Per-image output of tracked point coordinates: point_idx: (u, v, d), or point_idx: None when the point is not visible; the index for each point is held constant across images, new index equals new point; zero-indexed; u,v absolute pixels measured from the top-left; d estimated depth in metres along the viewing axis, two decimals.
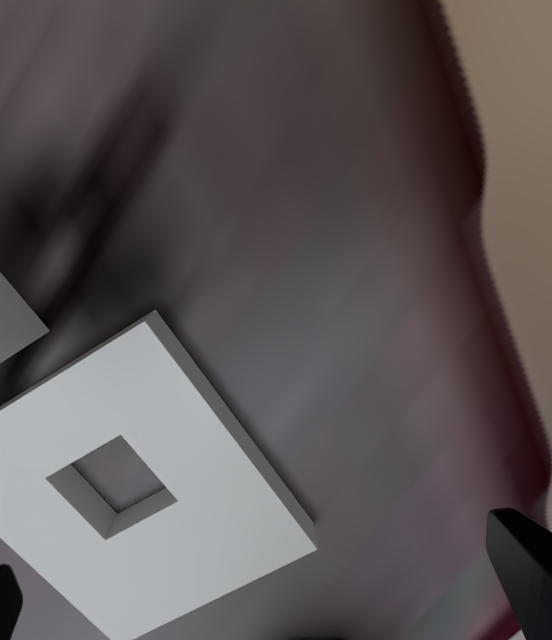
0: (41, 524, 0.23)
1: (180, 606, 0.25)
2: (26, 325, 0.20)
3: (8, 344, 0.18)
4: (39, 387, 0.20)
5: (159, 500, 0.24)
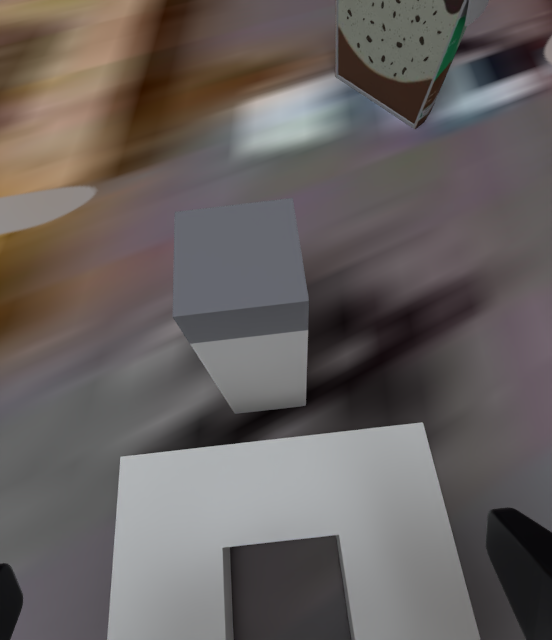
0: (170, 617, 0.17)
1: None
2: None
3: None
4: (289, 438, 0.20)
5: None
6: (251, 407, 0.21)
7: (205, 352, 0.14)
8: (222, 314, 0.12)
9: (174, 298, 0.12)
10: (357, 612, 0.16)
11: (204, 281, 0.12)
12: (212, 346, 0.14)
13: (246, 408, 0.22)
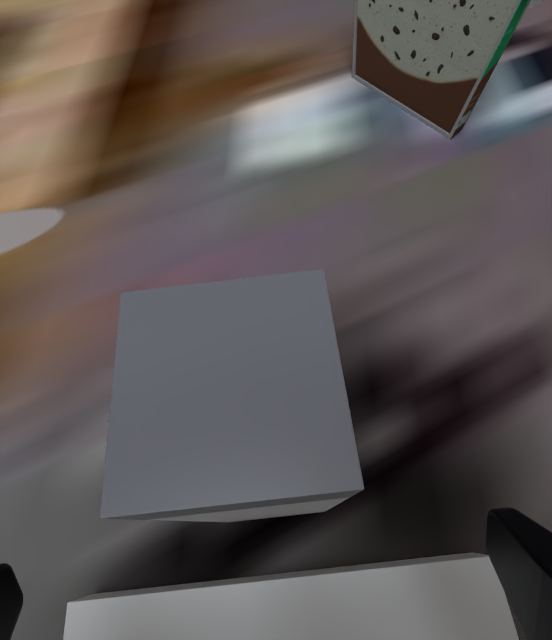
0: None
1: None
2: None
3: None
4: (304, 578, 0.14)
5: None
6: (251, 519, 0.16)
7: (174, 518, 0.09)
8: (198, 508, 0.06)
9: (106, 474, 0.06)
10: None
11: (165, 436, 0.06)
12: (187, 516, 0.08)
13: None
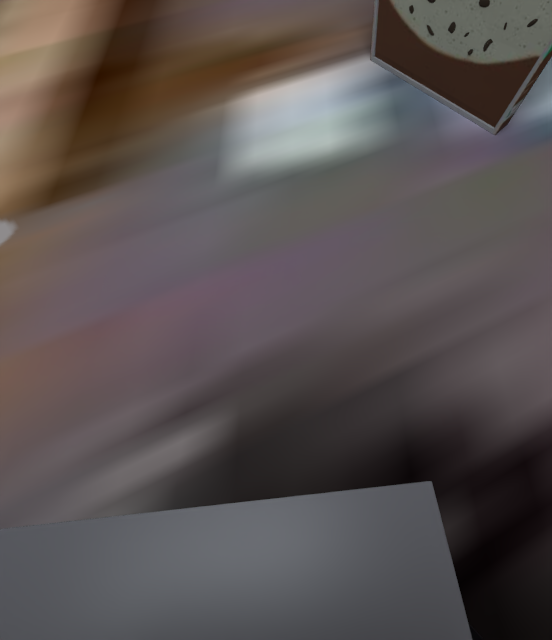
0: None
1: None
2: None
3: None
4: None
5: None
6: None
7: None
8: None
9: None
10: None
11: None
12: None
13: None
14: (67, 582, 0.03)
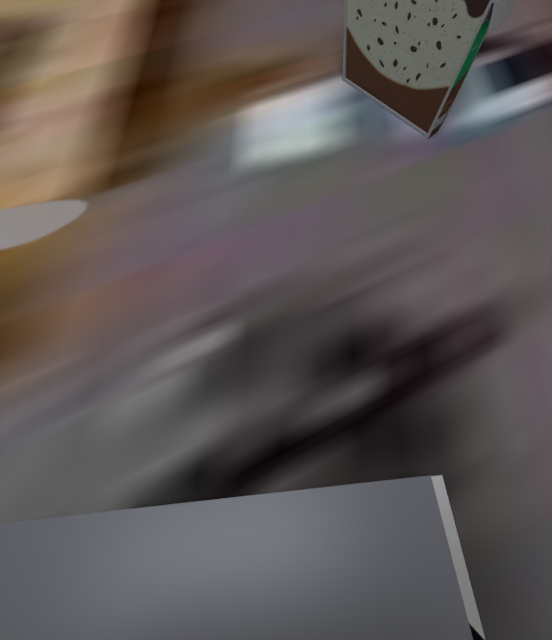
0: None
1: None
2: None
3: None
4: None
5: None
6: None
7: None
8: None
9: None
10: None
11: None
12: None
13: None
14: (67, 576, 0.03)
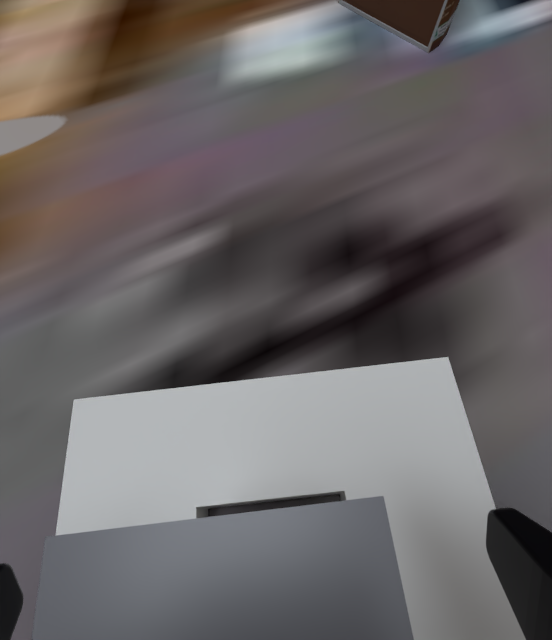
0: None
1: None
2: None
3: None
4: (282, 376, 0.16)
5: None
6: None
7: None
8: None
9: None
10: None
11: None
12: None
13: None
14: (160, 560, 0.04)
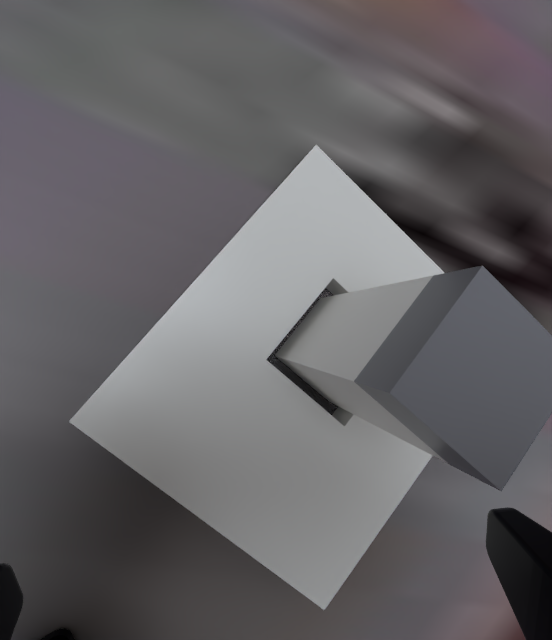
0: (269, 281, 0.19)
1: (179, 482, 0.18)
2: None
3: None
4: (431, 260, 0.21)
5: None
6: (293, 369, 0.20)
7: (349, 384, 0.12)
8: (427, 428, 0.10)
9: (405, 373, 0.09)
10: None
11: (444, 381, 0.10)
12: (364, 394, 0.12)
13: (289, 366, 0.20)
14: (510, 313, 0.10)
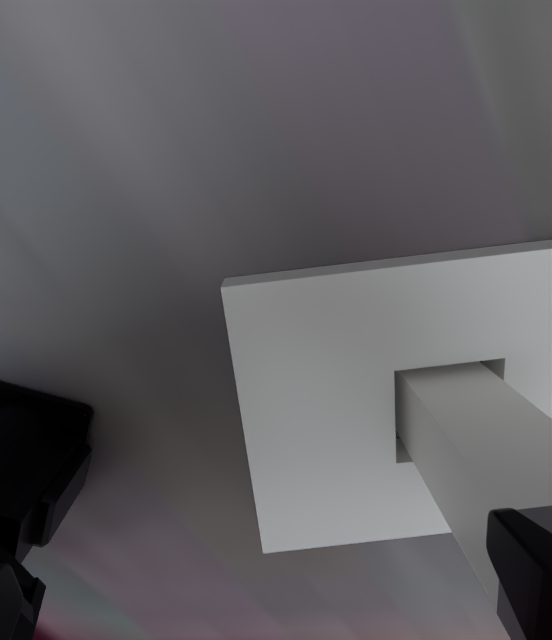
0: (457, 317, 0.18)
1: (252, 397, 0.19)
2: None
3: None
4: None
5: None
6: (399, 390, 0.20)
7: (487, 498, 0.12)
8: None
9: None
10: None
11: None
12: None
13: (399, 384, 0.20)
14: None
